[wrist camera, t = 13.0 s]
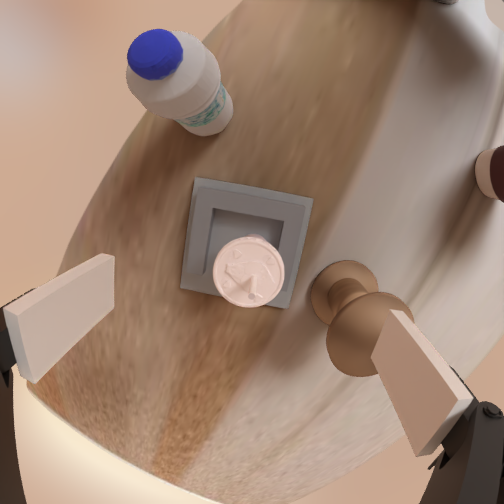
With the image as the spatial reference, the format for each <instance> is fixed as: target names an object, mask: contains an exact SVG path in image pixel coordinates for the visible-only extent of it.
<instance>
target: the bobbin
mask: <svg viewBox="0 0 504 504" xmlns="http://www.w3.org/2000/svg"><path fill="white" fill-rule="evenodd" d="M311 302H312V306H313V308H314V311H315V313H316V315H317V316H318V317H319V319H321V320H322V321H323V322H324V323H326V324H328V325H330V326H329V329H328V332H327V338H326V346H327V350H328V353H329V356H330V359H331V361H332V363H333V364H334V366H335V367H336V368H337V369H338V370H340V371H341V372H343V373H345V374H347V375H350V376H356V377H365V376H371V375H375V374H378V372H377V369H376V367H375V365H374V363H373V361H372V359H371V355H372V353H373V350H374V348H375V346H376V343H377V341H378V338H379V336H380V333H381V331H382V328H383V326H384V323H385V321H386V318H387V315H388V313H389V310H390V309H392V310H399V311H403V312H404V313H405V314H406V315H407V316H408V318H409V319H410V320H411V321H412V322H413V323H414V318H413V315H412V313H411V311H410V309H409V308H408V307H407V305H406V304H405V303H404V302H403V301H401V300H400V299H399V298H398V297H396V296H394V295H392V294H389V293H384V292H378V284H377V280H376V278H375V276H374V275H373V273H372V272H371V271H370V270H369V269H368V268H367V267H366V266H364V265H363V264H361V263H359V262H356V261H350V260H344V261H339V262H336V263H333V264H331V265H329V266H328V267H326V268H325V269H324V270H323V271H322V272H321V273H320V274H319V275H318V276H317V278H316V279H315V281H314V283H313V286H312V290H311Z"/></svg>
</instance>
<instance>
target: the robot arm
mask: <svg viewBox="0 0 504 504" xmlns="http://www.w3.org/2000/svg"><path fill="white" fill-rule="evenodd" d="M435 1H438V2H441V3H445V4H453V3H455V2H457V1H458V0H435ZM502 1H503V2H504V0H502ZM114 260H115V256H112V255H108V254H104V253H101V254H99V255H97V256H95V257H93V258H91V259H89V260H87V261H85V262H83V263H81V264H79V265H77V266H76V267H74V268H72V269H70V270H68V271H66V272H64V273H63V274H61V275H59V276H57V277H55V278H53V279H52V280H50V281H48V282H46V283H45V284H43V285H41V286H39V287H37V288H34V289H31V290H30V291H28V292H26V293H24V295H21V296H20V297H18V298H17V299H14V300H12V301H11V302H9V303H7V304H6V305H4V306H2V307H1V308H0V504H27V503H26V499H25V495H24V491H23V486H22V481H21V476H20V470H19V464H18V458H17V450H16V441H15V430H14V414H13V372H12V369H11V367H12V366H13V365H14V364H16V363H17V366H18V369H19V373H20V375H21V376H22V377H23V378H25V379H27V380H28V381H30V382H32V383H33V384H36V383H37V382H38V381H39V380H40V379H41V378H42V377H43V376H44V375H45V374H46V373H47V372H48V371H49V370H50V369H51V368H52V367H53V366H54V365H55V364H56V363H57V362H58V361H59V360H60V359H61V358H62V357H63V356H64V355H65V354H66V353H67V352H68V351H69V350H70V349H71V348H72V347H73V346H74V345H75V344H76V343H77V342H78V341H79V340H80V339H81V338H82V337H83V336H85V335H86V334H87V333H88V332H89V331H90V330H91V329H92V328H93V327H94V326H95V325H96V324H97V323H98V322H99V321H101V320H102V319H103V318H104V317H105V316H106V315H107V314H108V313H109V312H110V311H111V310H113V309H114ZM371 359H372V361H373V363H374V365H375V367H376V369H377V372H378V374H379V376H380V378H381V380H382V382H383V384H384V386H385V388H386V390H387V393H388V395H389V397H390V399H391V401H392V403H393V406H394V408H395V410H396V412H397V414H398V417H399V419H400V421H401V423H402V426H403V428H404V430H405V432H406V435H407V437H408V439H409V442H410V444H411V446H412V449H413V451H414V454H415V456H416V457H418V456H424V455H430V454H432V453H433V452H434V451H435V450H436V449H437V447H438V446H439V445H440V444H442V446H443V448H444V450H443V451H442V453H441V454H440V455H439V456H438V457H437V458H436V459H435V460H434V462H433V463H432V464H431V465H430V466H429V467H428V469H429V470H430V469H431V468H432V467H433V466H435V468H434V471H433V473H432V476H431V478H430V481H429V483H428V485H427V488H426V490H425V492H424V494H423V497H422V499H421V501H420V503H419V504H504V416H503V413H502V411H501V410H500V409H499V408H498V407H497V406H496V405H494V404H492V403H490V402H487V401H485V402H480V403H479V402H478V400H477V399H476V397H475V396H474V395H473V393H472V392H471V391H470V390H469V388H468V387H467V385H466V384H464V382H463V380H462V379H461V378H459V375H458V374H457V373H456V371H455V370H454V369H453V368H452V367H450V366H449V365H448V364H447V363H446V362H445V360H444V359H443V358H442V357H441V355H440V354H439V353H438V352H437V350H436V349H435V348H434V347H433V346H432V344H431V343H430V342H429V341H428V340H427V338H426V337H425V336H424V335H423V334H422V333H421V331H420V330H419V329H418V328H417V327H416V326H415V324H414V323H413V322H412V321H411V320H410V319H409V318H408V316H407V315H406V314H405V313H404V312H403V311H399V310H392V309H390V310H389V313H388V315H387V318H386V321H385V323H384V326H383V328H382V331H381V333H380V336H379V338H378V341H377V343H376V346H375V348H374V350H373V353H372V355H371Z"/></svg>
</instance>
